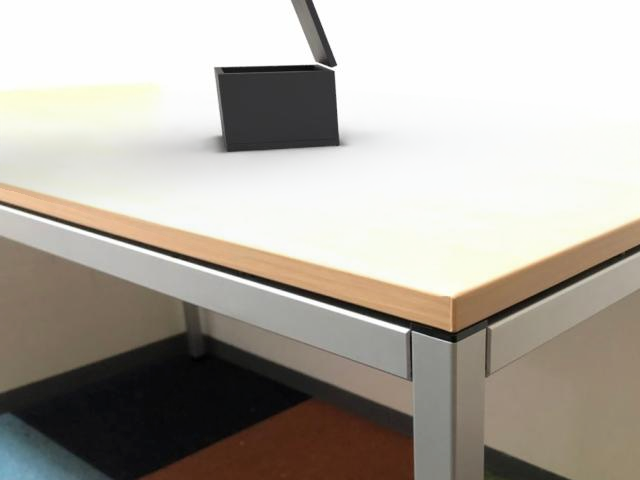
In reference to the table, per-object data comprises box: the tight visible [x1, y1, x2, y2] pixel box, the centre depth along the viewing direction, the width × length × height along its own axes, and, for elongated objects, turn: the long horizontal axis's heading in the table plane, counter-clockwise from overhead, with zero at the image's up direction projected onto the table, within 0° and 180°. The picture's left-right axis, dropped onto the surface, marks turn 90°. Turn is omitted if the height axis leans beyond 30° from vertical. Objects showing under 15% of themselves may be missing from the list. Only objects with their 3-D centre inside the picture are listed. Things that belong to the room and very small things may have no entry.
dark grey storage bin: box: [213, 63, 340, 152], centre depth 95 cm, size 14×13×9 cm
